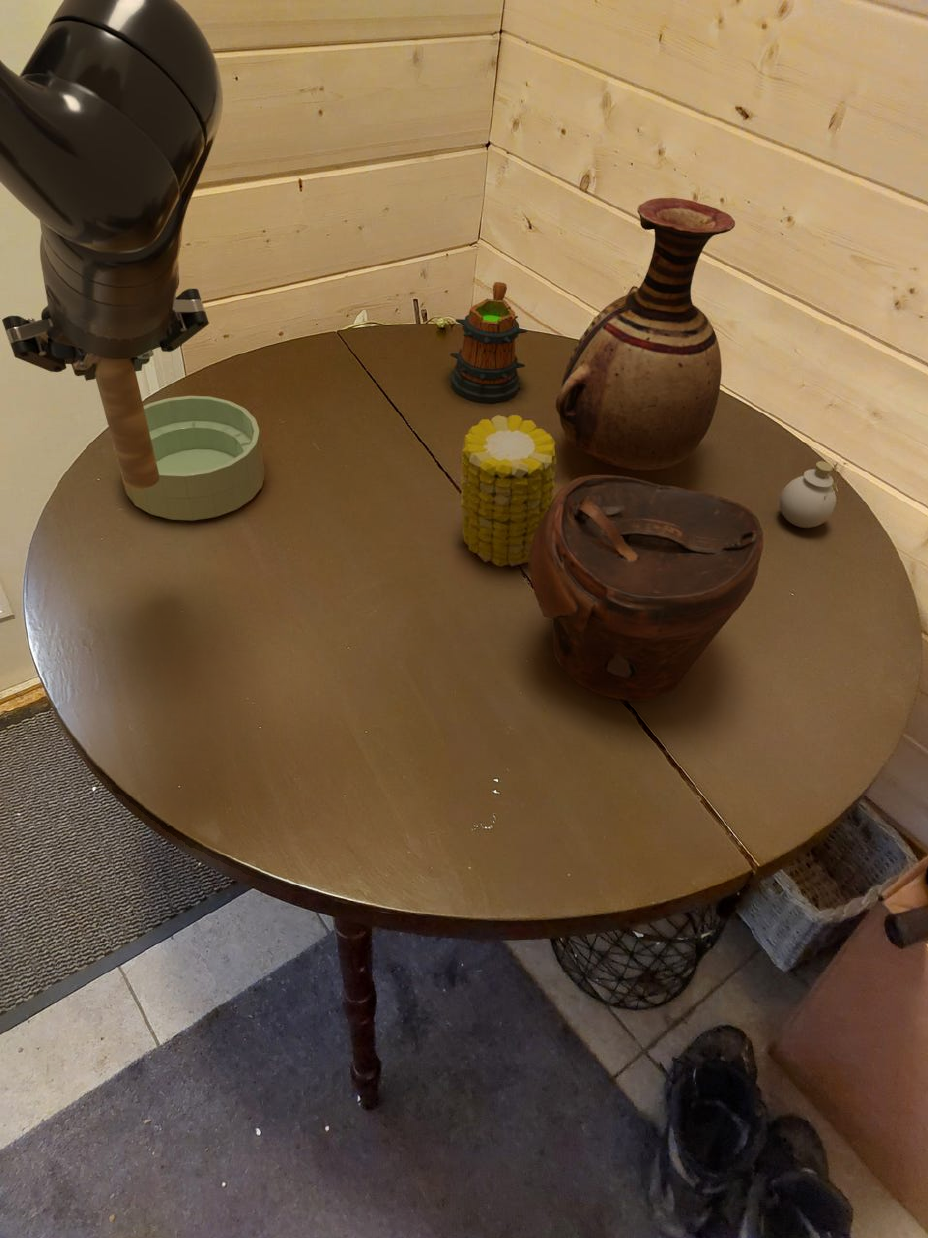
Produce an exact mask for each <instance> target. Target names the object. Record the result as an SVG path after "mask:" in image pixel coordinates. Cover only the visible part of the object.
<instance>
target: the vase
mask: <svg viewBox="0 0 928 1238" xmlns="http://www.w3.org/2000/svg"><path fill="white" fill-rule="evenodd" d="M636 211H637V213H638V215H639V220H640V221H639V222H640V223H639V224H640V227H641V228H642V229H643V230H645V231H650V230H653V232H654V246H653V249H652V250H653V251H652V255H651V259H650V262H649V265H648V269H647V271H646V273H645V277H644V278H643V281H642V282H641V284H640V286H639V287H638V286H637V285H634V286H631V288H630V290H629V291H628V292H627V294H625V295H623V296H621V297H618V298H617V299H615V300H614V301H612V302H611V303H609V304H608V305H606V306H605V307H604V309H602V310H601V311H600V312H599V313H598V315H596V317H594V319H593V320H592V322H591V323H590V324H589V325H588V327H587V328H586V330H585V331H584V332H583V334H582V335H581V337H580V338H579V340H578V341H577V343H576V345H575V347H574V349H573V351H572V353H571V355H570V358H569V359H568V362H567V364H566V367H565V371H564V374H563V378H562V380H561V381H562V382H561V387H560V389H559V392H558V394H557V397H556V399H555V411H556V412H557V414H558V415H559V422H560V426H561V428H562V430H563V433H564V435H565V436H566V438H567V439H568V441H570V443H571V444H572V445H573V446H574V447H576V448H577V449H578V450H580V451H582V452H583V453H585V454H587V455H589V456H591V457H592V458H594V459H597V460H599V461H601V462H603V463H606V464H608V465H611V466H615V467H617V468H622V469H625V470H626V469H627V470H631V471H633V470H634V471H659V470H665V469H668V468H671V467H673V466H675V465H677V464H679V463H681V462H683V461H684V460H685V459H687V458H688V457H689V456H690V455H691V454H693V452H694V451H695V450H696V449H697V448H698V446H699V445H700V444H701V442H702V441H703V440H704V438H705V436H706V434H707V433H708V430H709V429H710V426H711V424H712V421H713V418H714V415H715V412H716V409H717V405H718V400H719V395H720V390H721V383H722V371H723V369H722V367H723V365H722V355H721V349H720V344H719V341H718V337H717V334H716V331H715V329H714V327H713V325H712V323H711V321H710V320H709V318H708V317H707V315H706V314H705V313H703V311H701V309H700V308H698V307H697V306H696V305H694V304H693V303H694V302H693V300H692V284H693V279H694V274H695V271H696V267H697V264H698V261H699V258H700V256H701V254H702V252H703V250H704V248H705V246H706V245H707V243H708V242H709V241H710V240H711V238H713V237H714V236H717V235H722V234H726V233H728V232H731V231H732V230H733V229H734V228H735V227H736V221H735V220H734V219H733V217H732V216H731V215H730V214H729V213H727V212H725V211H722V210H720V209H719V208H715V207H713V206H709V205H707V204H703V203H700V202H698V201H695V200H694V201H693V200H691V199H690V200H689V199H685V198H684V199H683V198H677V197H658V198H652V199H649V200H647V201H644V202H643V203H641V204H640V205H638V207H637V210H636Z"/></svg>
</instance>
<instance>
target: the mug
mask: <svg viewBox="0 0 928 1238" xmlns="http://www.w3.org/2000/svg"><path fill="white" fill-rule="evenodd" d="M507 290H508V287H507V284H506V283H504V282H499V281H496V282H493V285H492V298H493V299H492V298H486V299H484V300H483V301H481V302H479V303H477V304H474V305H473V306H471V308H470V309H469V310H468V314H466V315H465V317H464V319H463V318H462V319H461V318H460V319H459V318H456V319H455V322H456V323H457V324H459V325H462V329H461V330H462V331H463V332H464V333H463V334H462V335H463V341H462V347H461V349H459V351H458V353H456V352H455V353H454V352H451V353H450V355H449V356H450V357H452V358H454V359H456V364H455V366H454V368H453V371H451V373H450V387H451V388H452V390H453V391H454V392H455V394H456V395H459V396H461V397H462V398H464V399H465V400H469V401H472V402H476V403H480V404H498V403H503V402H507V401H509V400H511V399H512V398H515V397H516V396H517V394H518V393H519V391H520V387H521V381H520V376H519V374H518V369H520V368H525V367H526V364H524V363H521V362H518V360H519V358H518V357H517V355H516V339H518V337H519V334H525V333H527V332H528V330H527V329H524V328H520V324H519V322H518V320H517V319H518V318H519V316H518V315H516V312H515V311H514V309H512V307H511V306H510V304H509V303H508V302H507V301H506V300H505V299H504V298H505V296H506V293H507Z"/></svg>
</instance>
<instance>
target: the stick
mask: <svg viewBox="0 0 928 1238" xmlns="http://www.w3.org/2000/svg"><path fill="white" fill-rule="evenodd" d="M94 365H95V382H96V385H97V388H98V393H99V396H100V400H101V403H102V407H103V411H104V415H105V419H106V422H107V425H108V429H109V433H110V436H111V440H112V444H113V449H114V448H115V450H114V453H115V452H116V454H115V457H116V456H117V458H116V460H117V459H118V461H117V464H118V463H119V465H118V468H119V467H120V469H119V471H120V470H121V472H120V475H121V474H122V476H121V479H122V478H123V480H122V482H123V481H124V483H123V485H124V484H125V485H126V486H128V487H130V488H133V489H145V488H149V487H151V486H153V485H155V484H156V483H157V482H158V480H159V472H158V467H157V463H156V459H155V454H154V450H153V446H152V441H151V437H150V433H149V428H148V424H147V420H146V415H145V411H144V406H145V405H144V403H143V399H142V394H141V390H140V384H139V381H138V377H137V373H136V372H137V371H136V372H135V367H134V363H133V359H132V358H129V359H108V358H103V357H102V358H101V360H100V362H99V363H94Z"/></svg>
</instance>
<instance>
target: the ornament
mask: <svg viewBox="0 0 928 1238" xmlns="http://www.w3.org/2000/svg"><path fill="white" fill-rule="evenodd" d="M838 463H839V462H836V463H833V464H831V463H829V462H827V461H823V460H820V461H817V462H816V463H815V468H814V469H807V470H806V471H804V473H803V475H801V476H798V477H796V478H794V479H792V480H790V481H789V482H788V483H787V484H786V485H785V486H784V488H783V489H782V491H781V494H780V498H779V509H780V512H781V514H782V516H783V518H784V519H785V520H786V521H787V522H788V523H790V525H793V526H794V527H798V528H804V529H810V528H815V527H818V526H820V525H822V524H824V523H825V522H827V521H828V520H829V519H830V518H831V516H833V515H832V514H833V513H834V511H835V509H836V504H837V495H836V491H837V492H838V491H839V490H838V487H837V485H838V482H839V479H837V480H836V482H834V478H833V477H832V476H831V475H830V472H831V471H832V473H834V471H838V468H837V466H838ZM835 490H836V491H835Z"/></svg>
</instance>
